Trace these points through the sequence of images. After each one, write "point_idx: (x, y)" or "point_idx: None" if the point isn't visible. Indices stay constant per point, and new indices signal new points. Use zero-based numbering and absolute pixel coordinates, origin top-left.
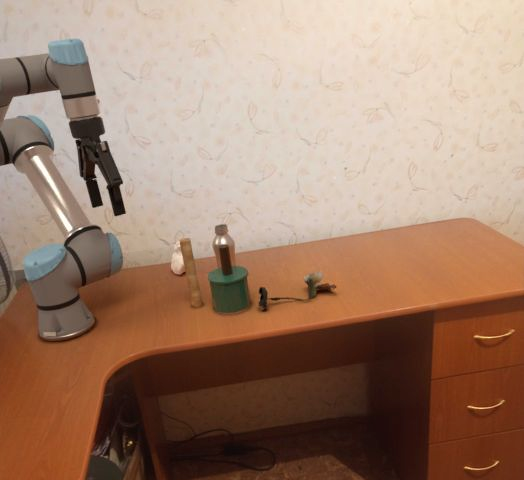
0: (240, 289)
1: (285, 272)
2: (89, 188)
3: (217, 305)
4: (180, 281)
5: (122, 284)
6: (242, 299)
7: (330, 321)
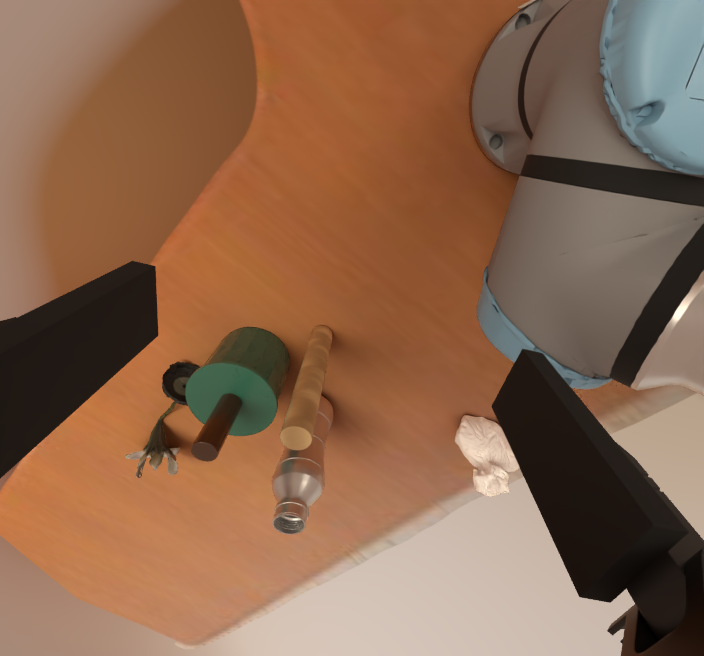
0: None
1: None
2: (594, 465)
3: (249, 335)
4: (444, 397)
5: None
6: None
7: None
